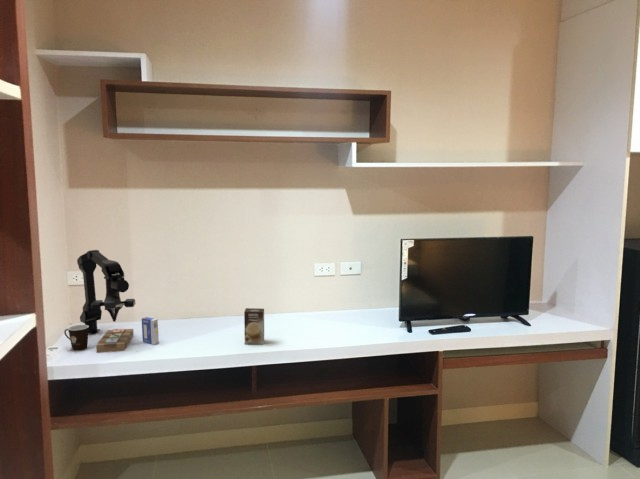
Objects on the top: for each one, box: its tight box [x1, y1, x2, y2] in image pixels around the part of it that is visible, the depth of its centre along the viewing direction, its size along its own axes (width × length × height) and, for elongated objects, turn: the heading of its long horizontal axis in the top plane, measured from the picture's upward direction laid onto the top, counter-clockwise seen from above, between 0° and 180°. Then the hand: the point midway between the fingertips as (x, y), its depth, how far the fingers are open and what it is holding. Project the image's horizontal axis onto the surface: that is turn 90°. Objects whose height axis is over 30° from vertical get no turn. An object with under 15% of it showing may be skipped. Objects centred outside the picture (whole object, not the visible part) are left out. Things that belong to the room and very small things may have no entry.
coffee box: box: [243, 307, 265, 346], centre depth 245 cm, size 9×6×16 cm
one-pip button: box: [106, 338, 119, 344], centre depth 238 cm, size 5×5×3 cm
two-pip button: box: [112, 328, 126, 334], centre depth 251 cm, size 5×5×3 cm
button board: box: [95, 328, 135, 353], centre depth 245 cm, size 22×12×4 cm, turn 10°
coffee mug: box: [64, 324, 89, 352], centre depth 239 cm, size 12×9×10 cm
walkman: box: [141, 316, 160, 345], centre depth 246 cm, size 8×3×12 cm, turn 61°
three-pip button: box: [109, 333, 122, 339], centre depth 245 cm, size 5×5×3 cm
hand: (114, 321), depth 243 cm, fingers closed
